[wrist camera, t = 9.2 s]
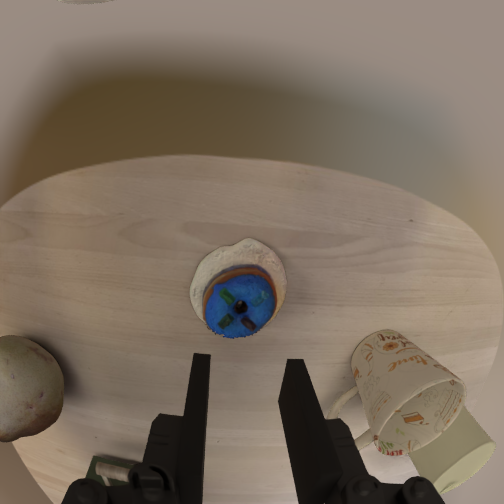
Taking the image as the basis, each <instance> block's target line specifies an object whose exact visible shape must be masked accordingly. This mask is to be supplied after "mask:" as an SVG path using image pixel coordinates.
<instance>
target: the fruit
mask: <svg viewBox="0 0 504 504" xmlns="http://www.w3.org/2000/svg"><path fill="white" fill-rule="evenodd" d="M63 397H64V378H63V374H62V371H61V369H60V367H59V365H58V363H57V361H56V360H55V358H54V357H53V356H52V355H51V354H50V353H48V352H47V351H46V350H45V349H43V348H42V347H41V346H40V345H38V344H37V343H35V342H33V341H30V340H28V339H27V338H24V337H21V336H15V335H7V336H2V337H0V441H1V442H11V441H14V440H17V439H18V438H21V437H27V436H33V435H36V434H38V433H40V432H42V431H44V430H45V429H47V428H48V427H50V426H51V425H52V424H53V423H55V422H56V421H57V419H58V418H59V416H60V413H61V411H62V407H63Z"/></svg>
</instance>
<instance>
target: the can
mask: <svg viewBox="0 0 504 504" xmlns="http://www.w3.org/2000/svg"><path fill="white" fill-rule="evenodd" d="M495 448H496V443H495V442H494V441H493V440H492V439H491V438H490V437H489V436H488V434H487V433H486V432H485V431H484V430H483V429H482V427H481V426H480V425H479V424H478V422H477V421H476V420H475V419H474V418H473V416H472V415H471V414H470V413H469V412H468V410H467V409H466V408H465V407H464V406H463V407H462V409H461V411H460V413H459V414H458V416H457V417H456V419H455V420H454V421H453V423H452V424H451V425H450V426H449V427H448V428H447V429H446V430H445V431H444V432H443V433H442V434H441V435H440V436H438V437H437V438H436V439H434V440H433V441H432V442H430V443H429V444H427V445H425V446H423V447H422V448H420V449H417V450H415V451H413V452H410V453H408V454H409V456H410V458H411V460H412V462H413V464H414V465H415V467H416V469H417V471H418V473H419V475H420V477H424V478H426V479H428V480H429V481H430V482H431V483H432V484H433V485H434V487H435V488H436V490H437V491H438V493H439V495H440V494H443V493H446V492H448V491H450V490H452V489H454V488H455V487H457V486H459V485H460V484H462V483H463V482H465V481H466V480H467V479H469V478H470V477H471V476H473V475H474V474H475V473H476V472H477V471H478V470H479V469H480V468H481V467H482V466H483V465H484V464H485V463H486V462H487V461H488V459H489V458H490V457H491V456H492V454H493V452H494V450H495Z"/></svg>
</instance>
